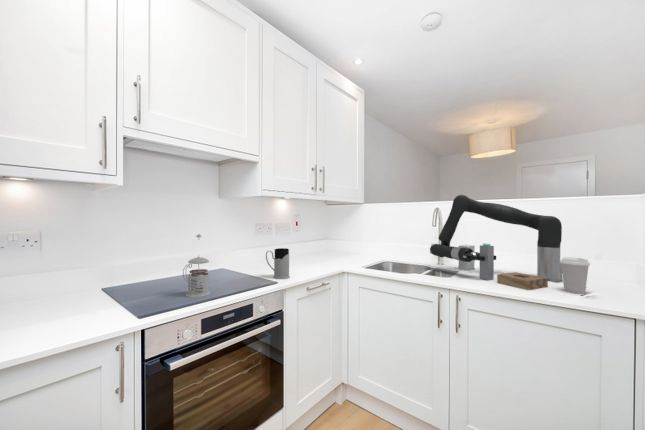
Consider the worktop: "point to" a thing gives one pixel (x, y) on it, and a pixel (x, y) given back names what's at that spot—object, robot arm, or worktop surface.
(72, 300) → the worktop surface
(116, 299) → the worktop surface
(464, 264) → the skincare box
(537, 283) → the brown wooden block
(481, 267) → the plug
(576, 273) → the coffee cup
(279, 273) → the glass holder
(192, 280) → the french press
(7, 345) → the worktop surface
